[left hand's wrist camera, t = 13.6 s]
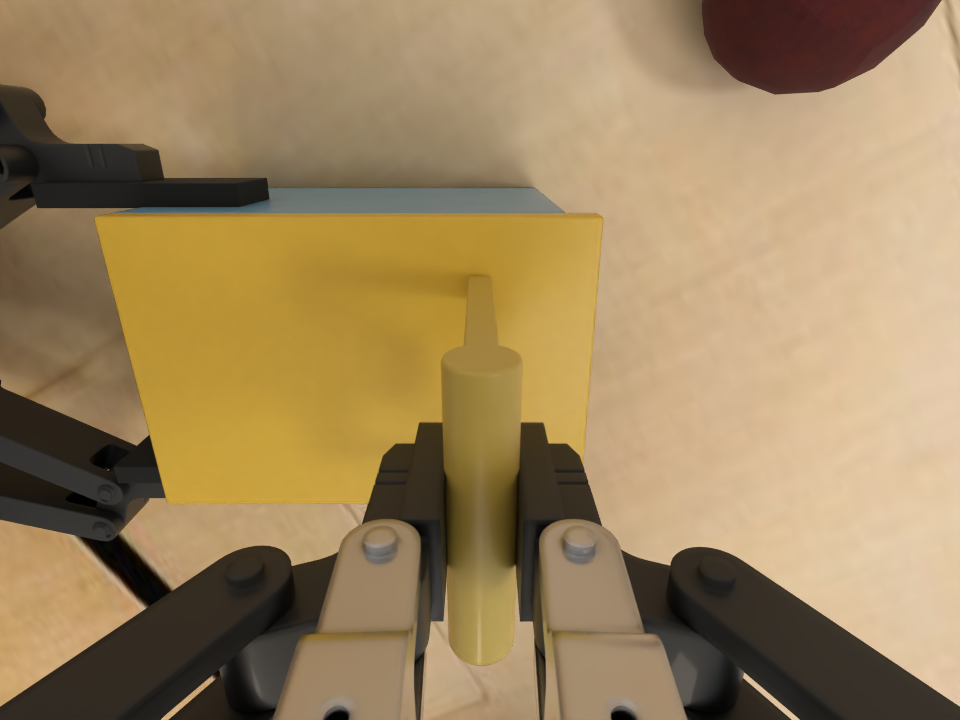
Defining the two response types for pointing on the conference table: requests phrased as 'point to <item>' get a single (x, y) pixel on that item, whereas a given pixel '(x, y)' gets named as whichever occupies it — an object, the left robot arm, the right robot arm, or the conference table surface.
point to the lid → (362, 363)
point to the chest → (385, 201)
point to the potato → (807, 39)
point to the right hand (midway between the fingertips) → (275, 336)
